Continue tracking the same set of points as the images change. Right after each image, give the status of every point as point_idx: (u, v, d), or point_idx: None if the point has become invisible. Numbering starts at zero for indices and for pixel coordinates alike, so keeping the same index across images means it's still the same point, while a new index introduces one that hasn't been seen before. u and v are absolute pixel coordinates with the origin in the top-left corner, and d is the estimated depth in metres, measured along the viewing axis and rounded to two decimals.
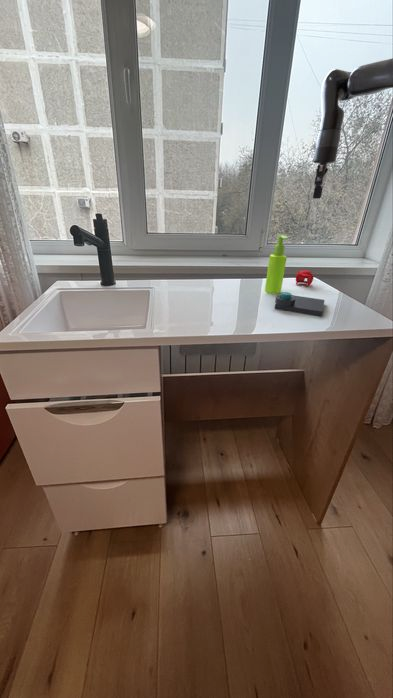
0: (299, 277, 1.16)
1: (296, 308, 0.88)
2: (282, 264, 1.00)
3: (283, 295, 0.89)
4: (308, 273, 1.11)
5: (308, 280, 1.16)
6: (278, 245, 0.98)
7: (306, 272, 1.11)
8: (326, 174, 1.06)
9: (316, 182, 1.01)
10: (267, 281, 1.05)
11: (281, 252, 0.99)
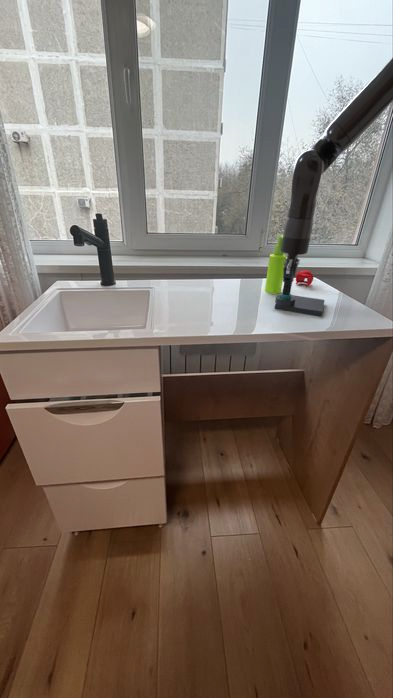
0: (299, 277, 1.16)
1: (296, 308, 0.88)
2: (282, 264, 1.00)
3: (283, 296, 0.89)
4: (308, 273, 1.11)
5: (308, 280, 1.16)
6: (278, 245, 0.98)
7: (306, 272, 1.11)
8: (297, 264, 0.85)
9: (285, 280, 0.85)
10: (267, 281, 1.05)
11: (281, 252, 0.99)
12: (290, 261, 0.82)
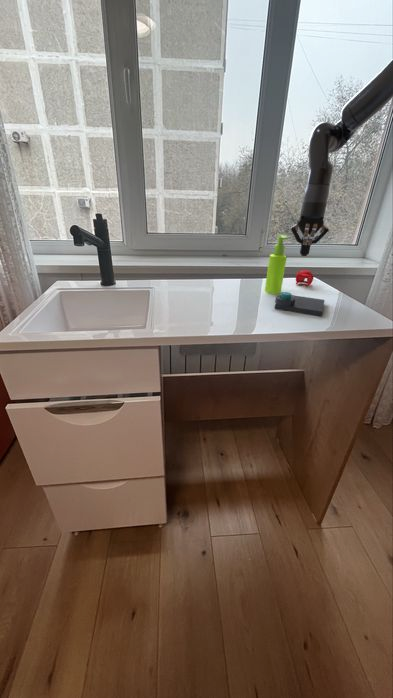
0: (299, 277, 1.16)
1: (296, 308, 0.88)
2: (282, 264, 1.00)
3: (283, 295, 0.89)
4: (308, 273, 1.11)
5: (308, 280, 1.16)
6: (278, 245, 0.98)
7: (306, 272, 1.11)
8: (312, 228, 0.95)
9: (297, 240, 0.99)
10: (267, 281, 1.05)
11: (281, 252, 0.99)
12: None
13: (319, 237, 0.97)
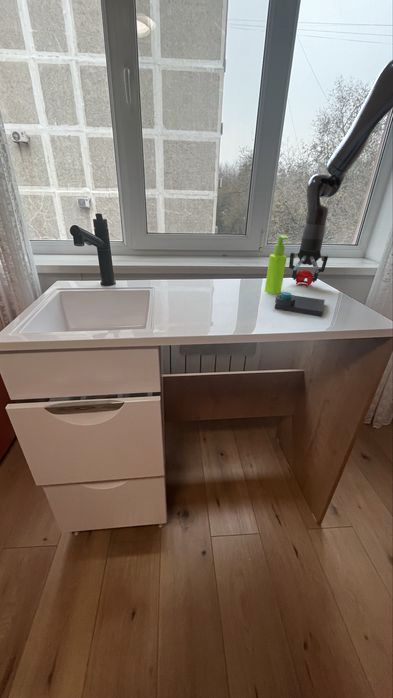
0: (299, 277, 1.16)
1: (296, 308, 0.88)
2: (282, 264, 1.00)
3: (283, 295, 0.89)
4: (308, 273, 1.11)
5: (308, 280, 1.16)
6: (278, 245, 0.98)
7: (306, 272, 1.11)
8: (311, 260, 1.09)
9: None
10: (267, 281, 1.05)
11: (281, 252, 0.99)
12: None
13: (323, 265, 1.08)
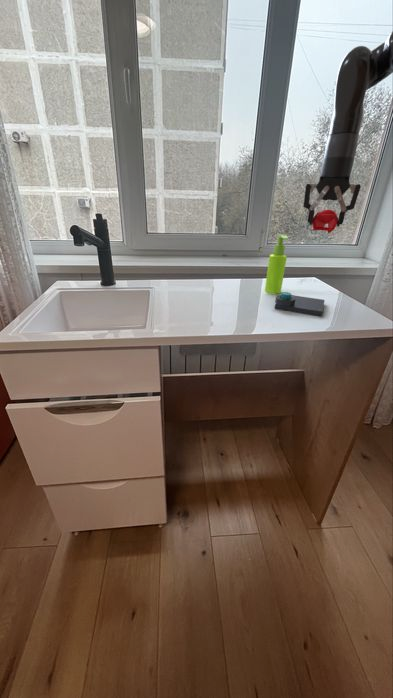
0: (317, 222, 0.84)
1: (296, 308, 0.88)
2: (282, 264, 1.00)
3: (283, 295, 0.89)
4: (331, 212, 0.79)
5: (330, 225, 0.83)
6: (278, 245, 0.98)
7: (328, 211, 0.79)
8: (336, 193, 0.77)
9: None
10: (267, 281, 1.05)
11: (281, 252, 0.99)
12: None
13: (353, 199, 0.76)
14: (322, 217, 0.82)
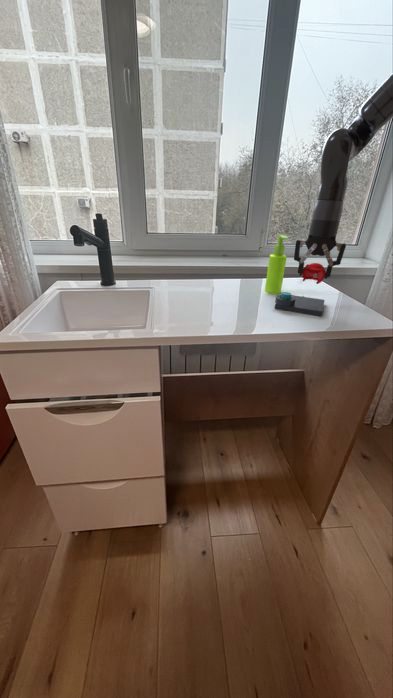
0: (307, 272, 0.90)
1: (296, 308, 0.88)
2: (282, 264, 1.00)
3: (283, 295, 0.89)
4: (319, 267, 0.85)
5: (318, 276, 0.89)
6: (278, 245, 0.98)
7: (316, 265, 0.85)
8: (323, 250, 0.83)
9: None
10: (267, 281, 1.05)
11: (281, 252, 0.99)
12: None
13: (339, 256, 0.82)
14: (311, 269, 0.88)
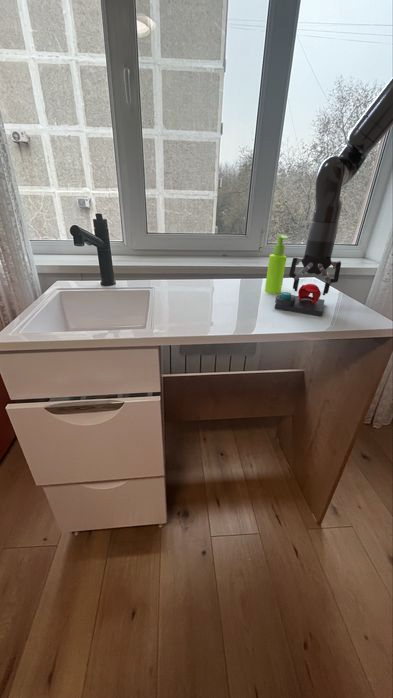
0: (303, 292, 0.93)
1: (296, 308, 0.88)
2: (282, 264, 1.00)
3: (283, 295, 0.89)
4: (314, 288, 0.88)
5: (314, 296, 0.92)
6: (278, 245, 0.98)
7: (312, 286, 0.88)
8: (319, 269, 0.86)
9: None
10: (267, 281, 1.05)
11: (281, 252, 0.99)
12: None
13: (336, 274, 0.85)
14: (307, 290, 0.91)
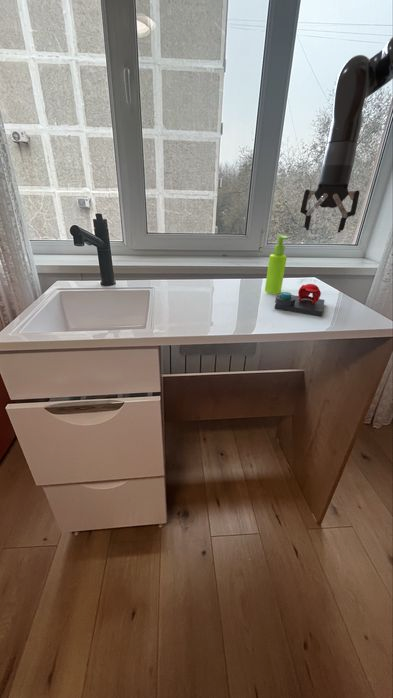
0: (303, 292, 0.93)
1: (296, 308, 0.88)
2: (282, 264, 1.00)
3: (283, 295, 0.89)
4: (314, 288, 0.88)
5: (314, 296, 0.92)
6: (278, 245, 0.98)
7: (312, 286, 0.88)
8: (335, 200, 0.77)
9: None
10: (267, 281, 1.05)
11: (281, 252, 0.99)
12: None
13: (354, 206, 0.76)
14: (307, 290, 0.91)
